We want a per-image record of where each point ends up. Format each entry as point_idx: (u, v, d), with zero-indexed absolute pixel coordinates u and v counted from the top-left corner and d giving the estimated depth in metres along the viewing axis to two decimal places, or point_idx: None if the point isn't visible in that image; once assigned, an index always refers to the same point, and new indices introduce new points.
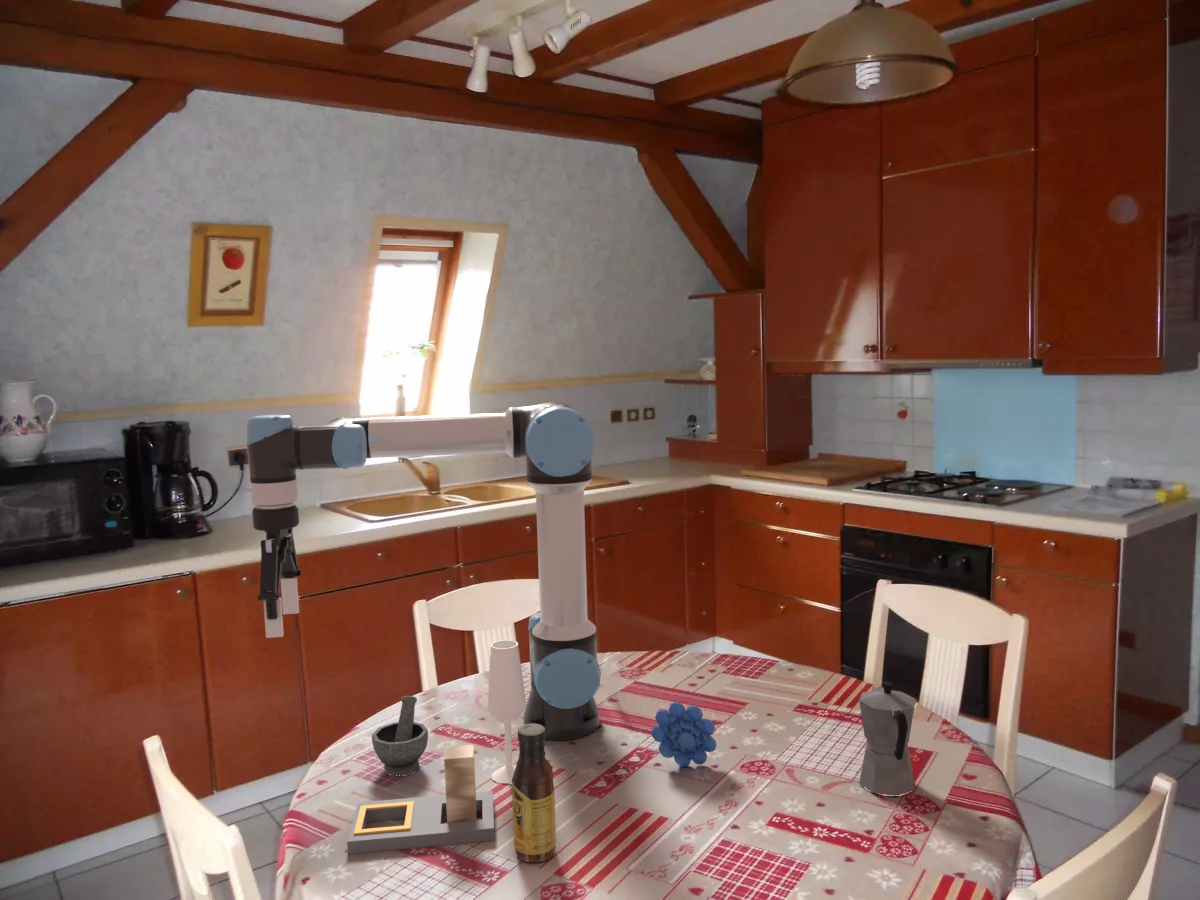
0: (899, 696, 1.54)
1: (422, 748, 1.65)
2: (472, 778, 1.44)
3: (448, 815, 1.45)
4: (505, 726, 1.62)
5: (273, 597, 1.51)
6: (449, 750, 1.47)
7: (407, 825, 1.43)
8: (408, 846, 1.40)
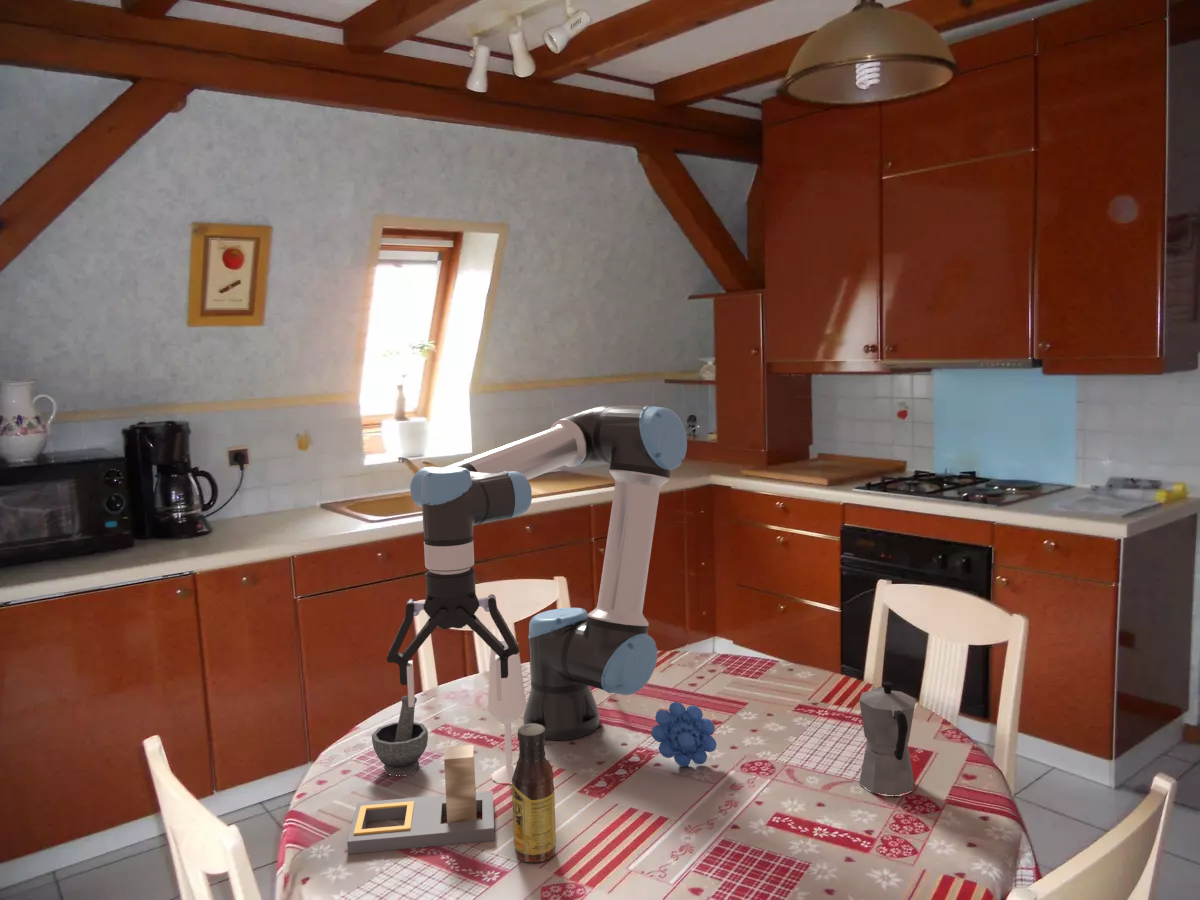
0: (899, 696, 1.54)
1: (422, 748, 1.65)
2: (472, 778, 1.44)
3: (448, 815, 1.45)
4: (505, 726, 1.62)
5: (387, 660, 1.42)
6: (449, 750, 1.47)
7: (407, 825, 1.43)
8: (408, 846, 1.40)
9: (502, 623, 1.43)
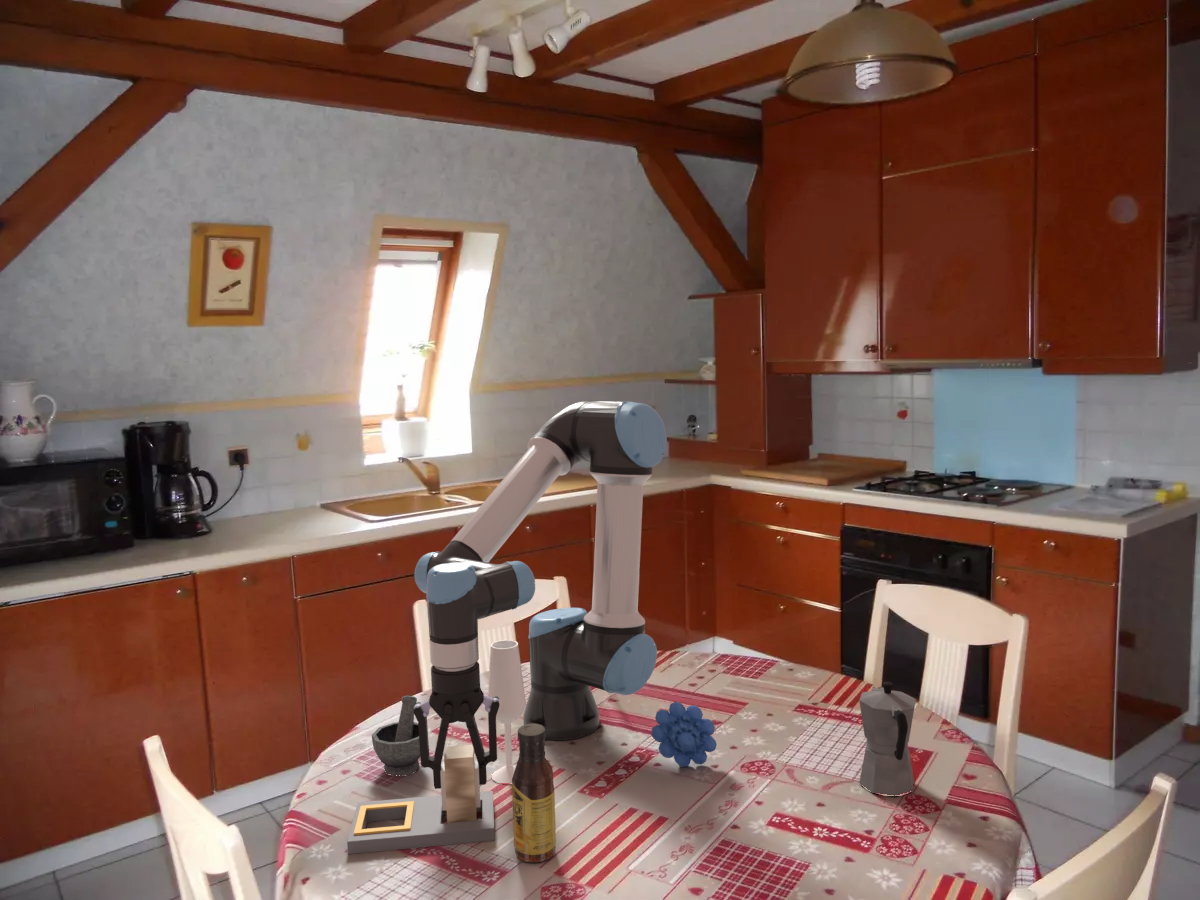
0: (899, 696, 1.54)
1: None
2: (472, 778, 1.44)
3: (448, 815, 1.45)
4: (505, 726, 1.62)
5: None
6: (449, 750, 1.47)
7: (407, 825, 1.43)
8: (408, 846, 1.40)
9: (494, 728, 1.45)
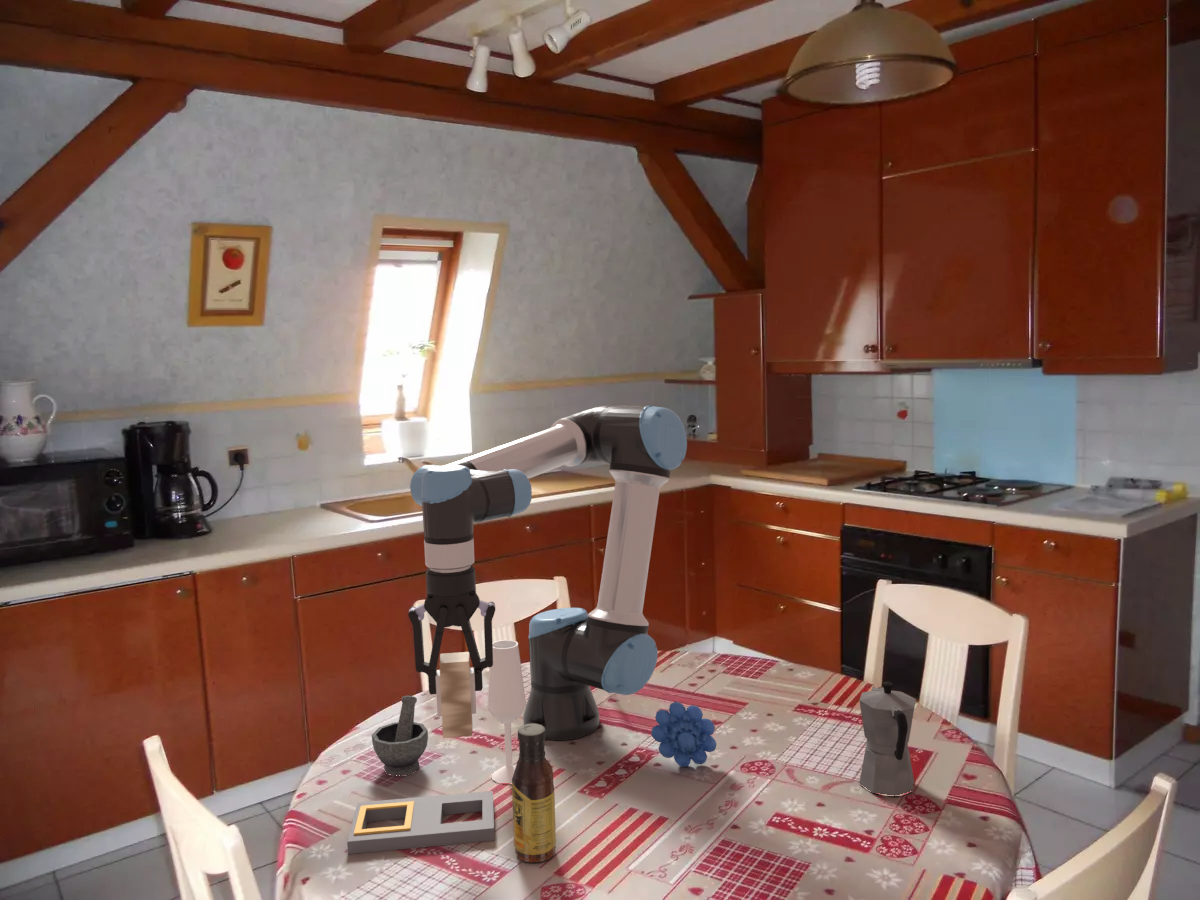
0: (899, 696, 1.54)
1: (422, 748, 1.65)
2: (468, 683, 1.43)
3: (443, 720, 1.43)
4: (505, 726, 1.62)
5: None
6: (444, 656, 1.45)
7: (407, 825, 1.43)
8: (408, 846, 1.40)
9: (490, 633, 1.43)
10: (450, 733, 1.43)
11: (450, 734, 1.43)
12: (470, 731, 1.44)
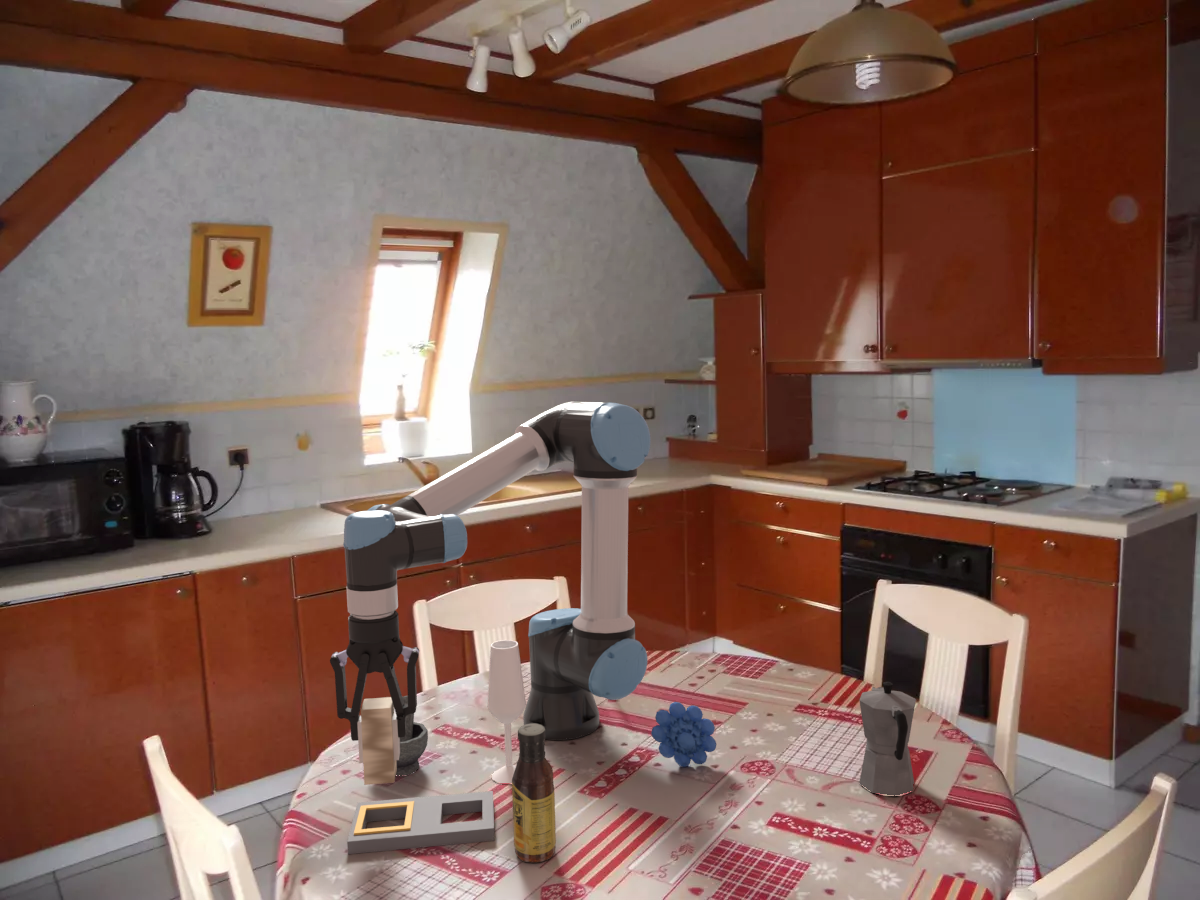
0: (899, 696, 1.54)
1: (422, 748, 1.65)
2: (389, 729, 1.42)
3: (365, 767, 1.42)
4: (505, 726, 1.62)
5: (338, 716, 1.42)
6: (367, 702, 1.44)
7: (407, 825, 1.43)
8: (408, 846, 1.40)
9: (413, 679, 1.42)
10: (372, 780, 1.42)
11: (372, 781, 1.42)
12: (392, 778, 1.43)
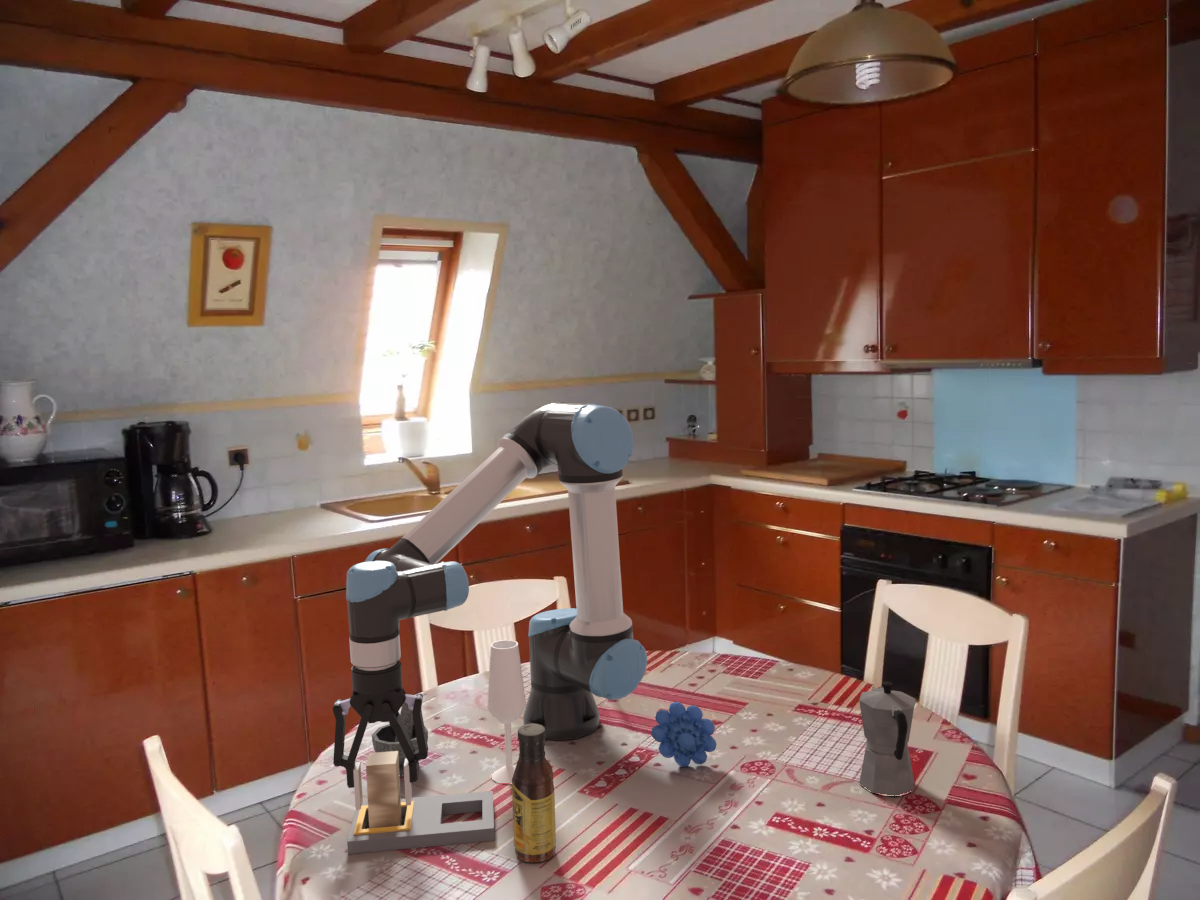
0: (899, 696, 1.54)
1: None
2: (394, 785, 1.43)
3: (370, 822, 1.43)
4: (505, 726, 1.62)
5: (334, 763, 1.43)
6: (372, 756, 1.45)
7: (407, 825, 1.43)
8: (408, 846, 1.40)
9: (420, 726, 1.44)
10: None
11: None
12: None
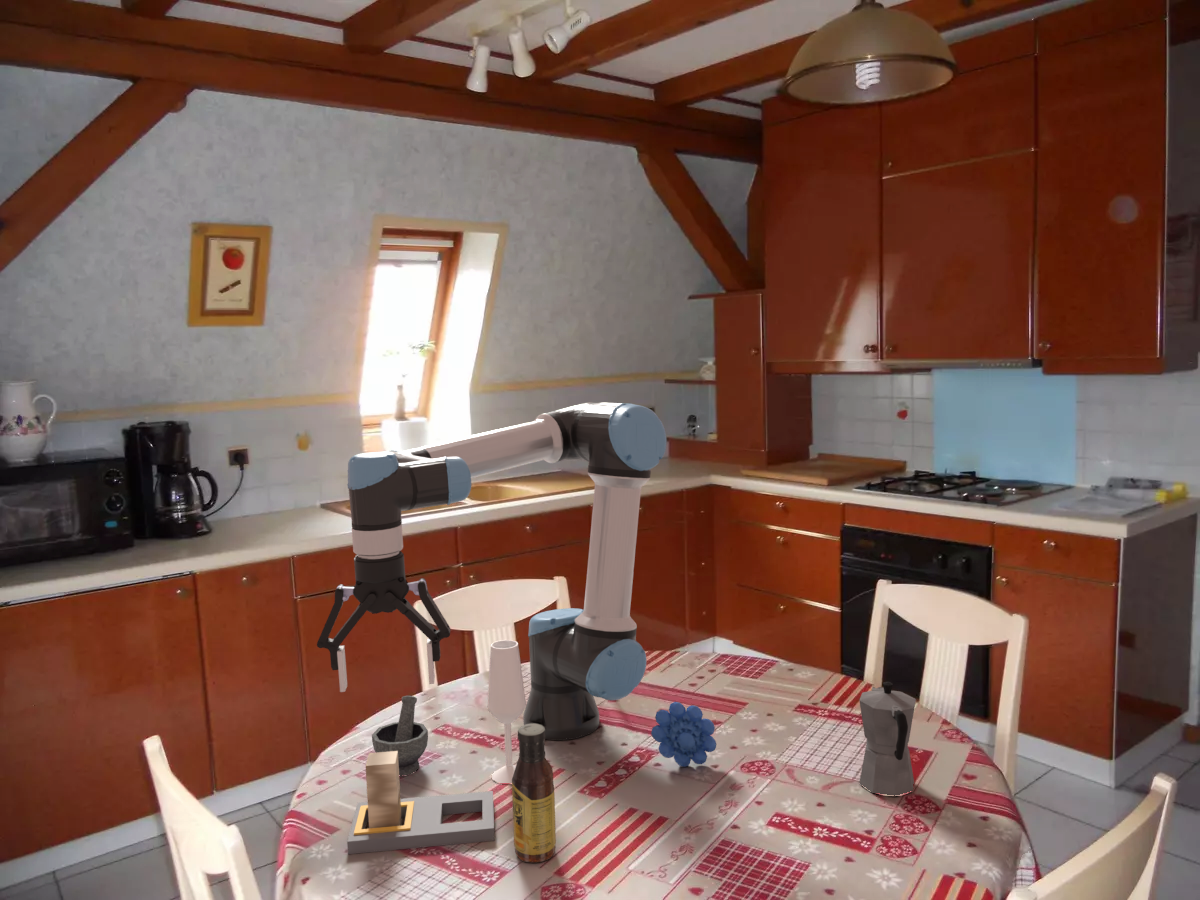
0: (899, 696, 1.54)
1: (422, 748, 1.65)
2: (394, 785, 1.43)
3: (370, 822, 1.43)
4: (505, 726, 1.62)
5: None
6: (372, 756, 1.45)
7: (407, 825, 1.43)
8: (408, 846, 1.40)
9: (432, 607, 1.44)
10: None
11: None
12: None
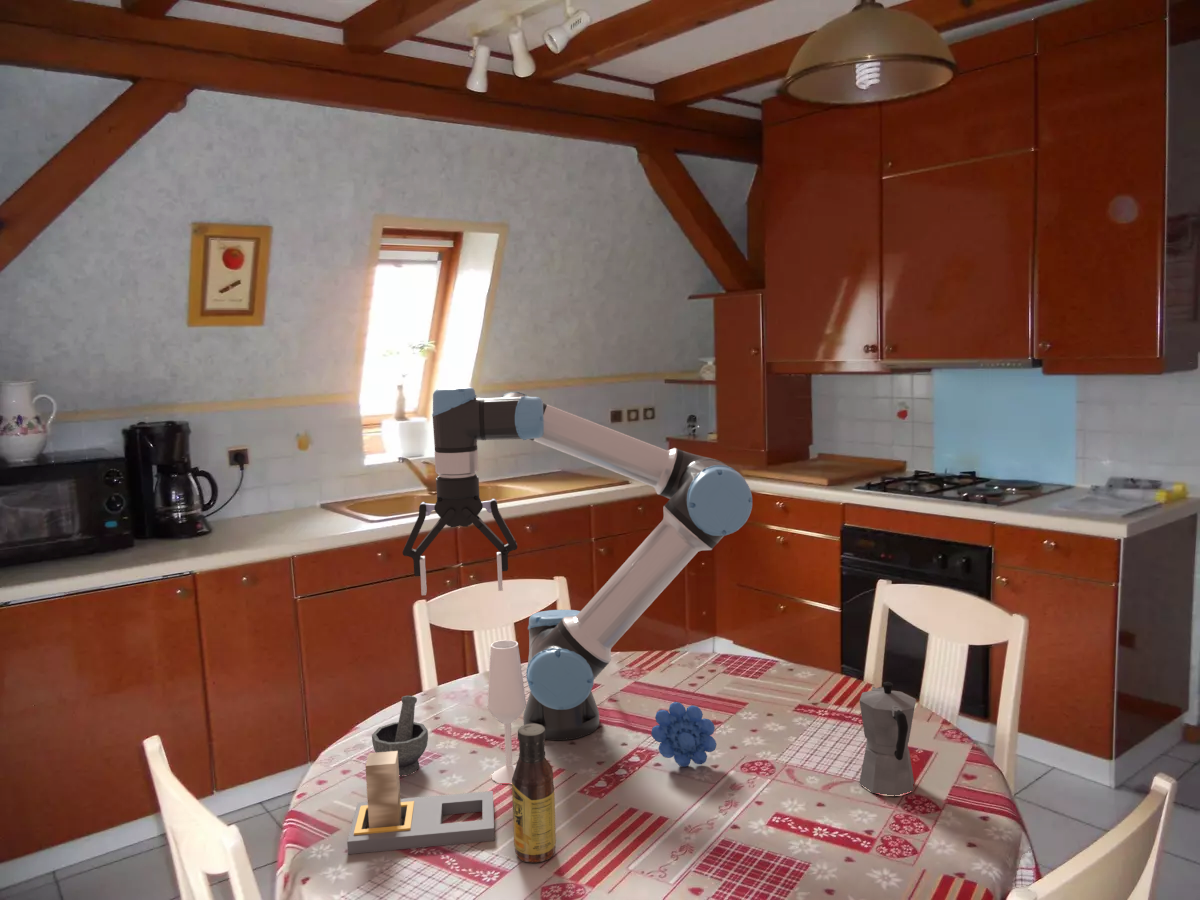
0: (900, 696, 1.54)
1: (422, 748, 1.65)
2: (394, 785, 1.43)
3: (370, 822, 1.43)
4: (505, 726, 1.62)
5: (403, 554, 1.63)
6: (372, 756, 1.45)
7: (407, 825, 1.43)
8: (408, 846, 1.40)
9: (502, 522, 1.65)
10: None
11: None
12: None
